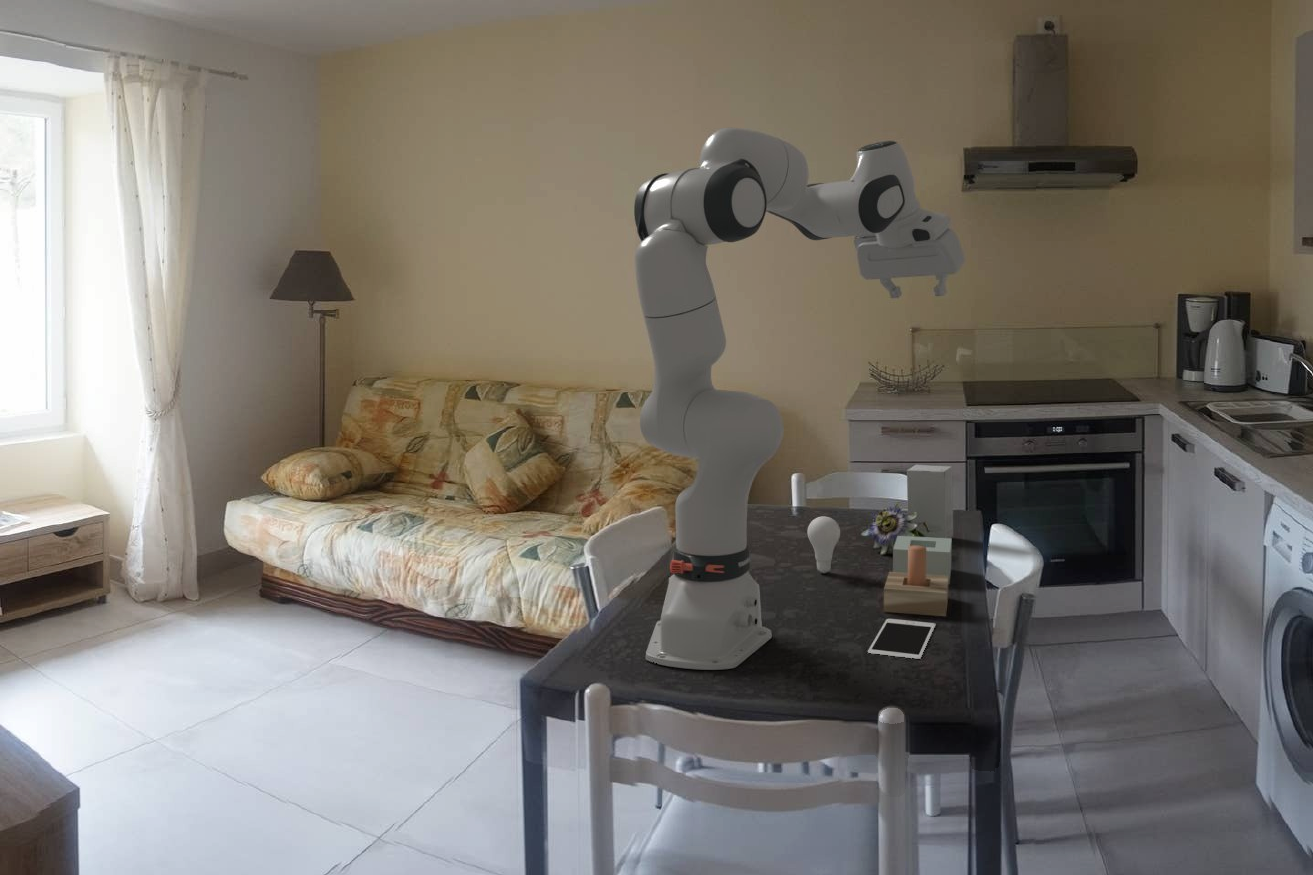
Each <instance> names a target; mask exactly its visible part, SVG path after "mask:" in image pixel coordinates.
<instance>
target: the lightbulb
mask: <svg viewBox="0 0 1313 875" xmlns="http://www.w3.org/2000/svg"><path fill="white" fill-rule="evenodd" d="M806 533H807V537H808V539H809V542H810V544H811V546H812V547H813V550H814V554H815V555H814V556H815V561H816V570H817V571H819V572H820V573H822V574H826V573H828V572H829V571H831V564H832V560H833V553H834V549H835V547H836V545H837V543H838V542H839V539H840V537H841V529H840V525H839V524H838V522H837V521H836V520H835V519H834V518H831V517H829V516H825V515H823V516H818V517H815V518H814V519H813V520H811V521H810V523H809V525H808V526H807V532H806Z"/></svg>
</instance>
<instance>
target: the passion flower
mask: <svg viewBox="0 0 1313 875" xmlns="http://www.w3.org/2000/svg"><path fill="white" fill-rule="evenodd" d="M902 506H903V505H902V503H901V502H900V501H899V502H897V503H895V504H894V506H893V507H892V506H890V507H887V508H886V509H884V508H882V509H881V510H876V513H875V514H873V516H871V518H872V521H873V522H871V523H869V524H868V525H867V526H868V527H867V528H866V529H864V530H863V531H862V532H860V536H861V537H866V538H867V537H871V539H872V540H873V546H872V547H873V550H878V549H880V556H885V555H887V553H888V552H889V549H890V546H891V548H892V549H893V548H894V545H895V542H896V539H897V536H912V537H926V536H925V535H924V534H922V533H921V532H919V531H917V530H916V528H917V525H919V524H922V523H923V525H924V526H925V527H926V529H927V532H930V529H929V528H928V525H927V524H926V522H922V523H919V524H914V523H911V522H910V521H912V520H913V519H914V518H916V517H917V513H916V512H914V513H908V512H907V513H904V512H903V511H902V508H903V507H902Z"/></svg>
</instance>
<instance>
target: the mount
mask: <svg viewBox="0 0 1313 875" xmlns="http://www.w3.org/2000/svg"><path fill="white" fill-rule="evenodd" d="M948 600H949V584H948V576H947V575H931V574H926V586H911V585H908V573H899V572H893V571H889V572H888V575H887V577H886V580H885V584H884V587H883V613H896V614H897V613H898V614H907V615H909V614H910V615H921V616H922V615H923V616H933V617H947V609H948Z"/></svg>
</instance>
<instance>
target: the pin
mask: <svg viewBox="0 0 1313 875" xmlns="http://www.w3.org/2000/svg"><path fill="white" fill-rule="evenodd" d="M908 585H911V586H926V547H924V546H916V545H915V546H909V547H908Z"/></svg>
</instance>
